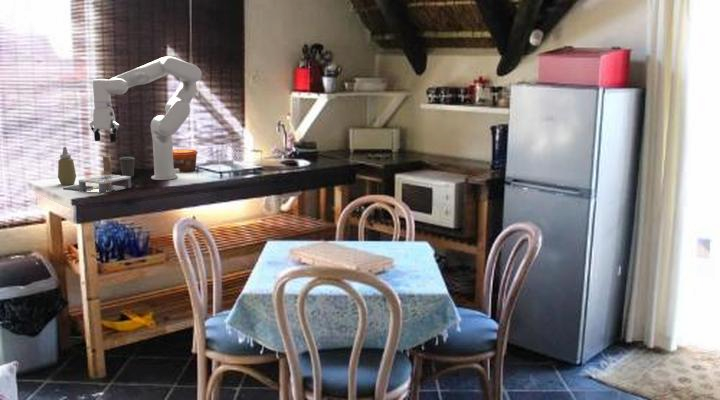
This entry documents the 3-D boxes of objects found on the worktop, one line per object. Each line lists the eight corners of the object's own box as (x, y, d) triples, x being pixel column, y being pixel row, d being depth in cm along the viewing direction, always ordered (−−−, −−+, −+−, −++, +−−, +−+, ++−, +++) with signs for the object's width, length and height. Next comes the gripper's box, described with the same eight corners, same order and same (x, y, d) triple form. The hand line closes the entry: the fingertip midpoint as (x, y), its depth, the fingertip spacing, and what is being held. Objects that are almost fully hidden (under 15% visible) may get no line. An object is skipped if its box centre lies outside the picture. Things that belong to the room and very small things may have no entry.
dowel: (108, 182, 342) (106, 155, 340) (113, 182, 341) (111, 156, 339) (103, 183, 339) (101, 156, 337) (108, 183, 338) (106, 157, 336)
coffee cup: (126, 178, 355) (124, 158, 353) (116, 176, 360) (115, 157, 358) (139, 176, 361) (138, 156, 359) (130, 174, 366) (129, 155, 364)
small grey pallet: (108, 185, 335) (107, 174, 334) (131, 187, 329) (130, 176, 328) (79, 191, 319) (78, 179, 318) (102, 193, 313) (102, 182, 312)
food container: (183, 173, 370) (182, 153, 367) (161, 171, 377) (160, 151, 375) (204, 169, 383) (203, 150, 381) (182, 167, 391) (182, 148, 389)
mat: (78, 186, 332) (78, 184, 332) (92, 187, 328) (92, 186, 328) (63, 189, 324) (63, 187, 324) (77, 190, 320) (77, 189, 320)
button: (105, 184, 326) (105, 180, 326) (112, 185, 325) (111, 181, 324) (99, 186, 323) (98, 181, 323) (105, 186, 321) (105, 182, 321)
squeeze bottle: (79, 184, 336) (76, 147, 333) (62, 186, 331) (59, 148, 327) (72, 182, 342) (69, 145, 339) (55, 184, 337) (52, 146, 333)
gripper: (122, 105, 332) (125, 141, 336) (94, 104, 339) (97, 139, 342) (111, 106, 325) (113, 143, 329) (82, 105, 332) (85, 141, 336)
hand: (105, 141), depth 336 cm, fingers open, 9 cm apart
